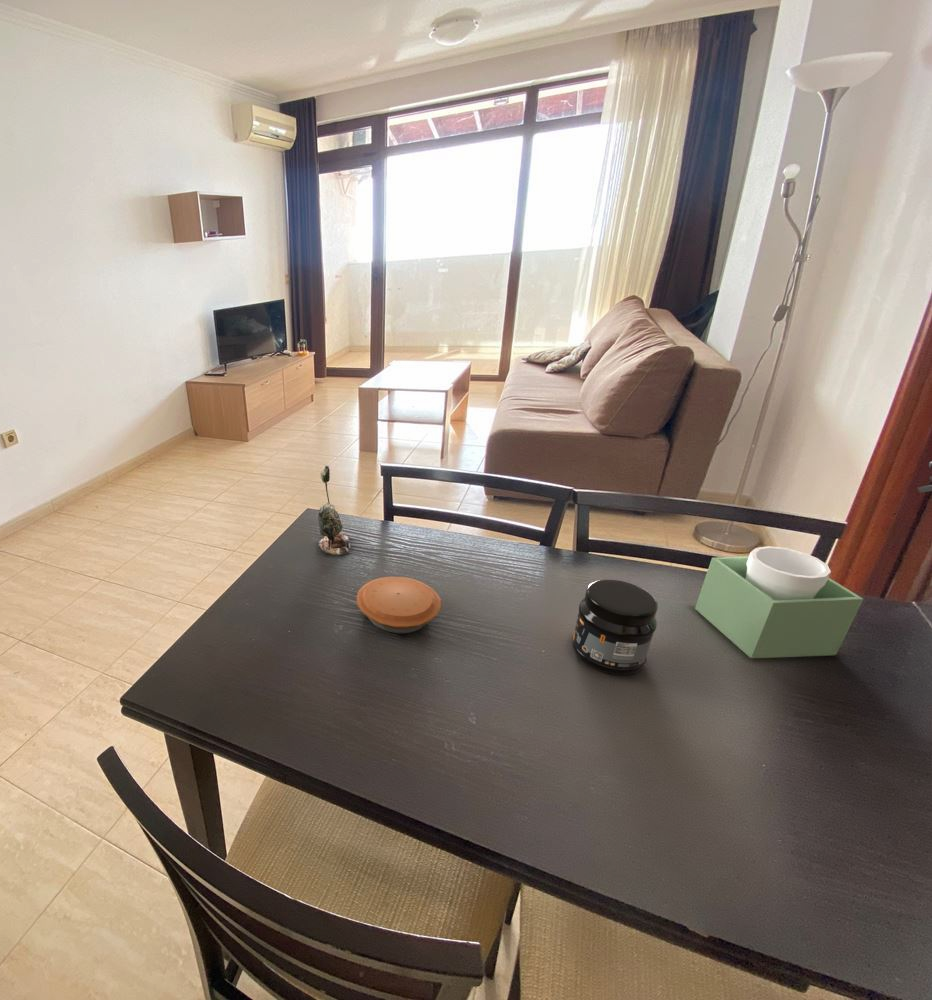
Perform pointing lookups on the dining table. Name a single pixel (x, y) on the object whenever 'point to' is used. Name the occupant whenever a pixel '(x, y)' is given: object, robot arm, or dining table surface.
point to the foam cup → (786, 573)
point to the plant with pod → (331, 525)
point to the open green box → (774, 614)
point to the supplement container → (615, 626)
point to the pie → (398, 603)
